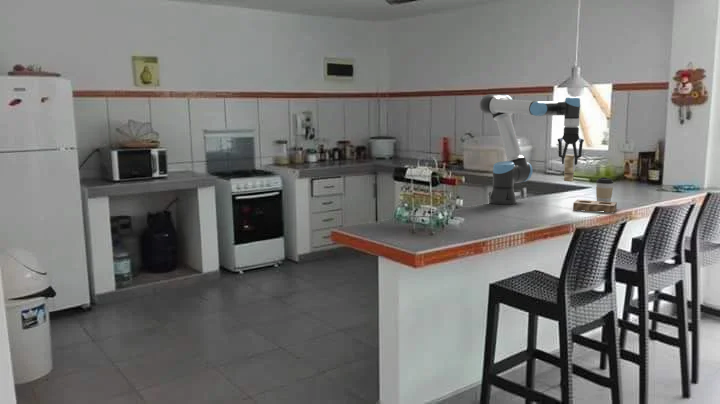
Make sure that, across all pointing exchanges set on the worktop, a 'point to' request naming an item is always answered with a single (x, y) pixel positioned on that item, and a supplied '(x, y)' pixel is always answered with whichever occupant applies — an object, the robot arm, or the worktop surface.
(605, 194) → the coffee cup
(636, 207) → the worktop surface
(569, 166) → the leg
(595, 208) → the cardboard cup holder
